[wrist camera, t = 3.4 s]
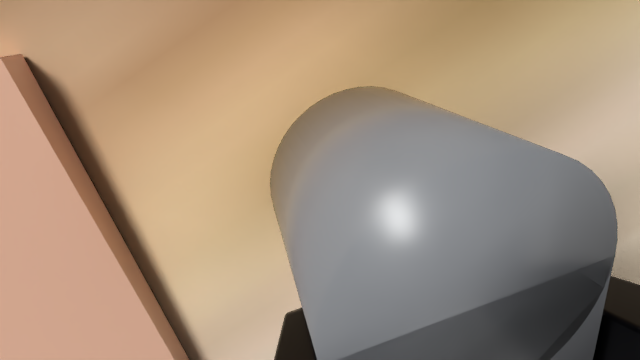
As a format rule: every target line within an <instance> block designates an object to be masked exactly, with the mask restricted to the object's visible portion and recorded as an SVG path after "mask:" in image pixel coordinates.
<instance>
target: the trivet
mask: <svg viewBox="0 0 640 360" xmlns="http://www.w3.org/2000/svg"><path fill="white" fill-rule="evenodd" d="M0 360H189V358H188V357H187V355H186V353H185V351H184V349H183V348H182V346H181V344H180V342H179V340H178V338H177V337H176V335H175V333H174V331H173V329H172V327H171V326H170V324H169V322H168V320H167V318H166V317H165V315H164V313H163V311H162V309H161V307H160V306H159V304H158V302H157V300H156V298H155V296H154V295H153V293H152V291H151V289H150V287H149V286H148V284H147V282H146V280H145V278H144V276H143V275H142V273H141V271H140V269H139V267H138V265H137V264H136V262H135V260H134V258H133V256H132V254H131V253H130V251H129V249H128V247H127V245H126V244H125V242H124V240H123V238H122V236H121V234H120V233H119V231H118V229H117V227H116V225H115V223H114V222H113V220H112V218H111V216H110V214H109V213H108V211H107V209H106V207H105V205H104V203H103V202H102V200H101V198H100V196H99V194H98V192H97V191H96V189H95V187H94V185H93V183H92V182H91V180H90V178H89V176H88V174H87V172H86V171H85V169H84V167H83V165H82V163H81V161H80V160H79V158H78V156H77V154H76V152H75V150H74V149H73V147H72V145H71V143H70V141H69V140H68V138H67V136H66V134H65V132H64V130H63V129H62V127H61V125H60V123H59V121H58V119H57V118H56V116H55V114H54V112H53V110H52V109H51V107H50V105H49V103H48V101H47V99H46V98H45V96H44V94H43V92H42V90H41V88H40V87H39V85H38V83H37V81H36V79H35V78H34V76H33V74H32V72H31V70H30V68H29V67H28V65H27V63H26V61H25V59H24V57H23V56H22V54H19V55H13V56H6V57H0Z"/></svg>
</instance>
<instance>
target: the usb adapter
mask: <svg viewBox="0 0 640 360" xmlns="http://www.w3.org/2000/svg"><path fill="white" fill-rule="evenodd" d="M270 189H271V198H272V202H273V207H274V210H275V214H276V217H277V221H278V224H279V228H280V231H281V235H282V238H283V242H284V245H285V249H286V252H287V256H288V259H289V263H290V266H291V270H292V273H293V277H294V280H295V284H296V287H297V291H298V294H299V298H300V301H301V305H302V308H303V312H304V315H305V319H306V322H307V326H308V329H309V333H310V336H311V340H312V343H313V347H314V350H315V354H316V357H317V360H593V356H594V352H595V347H596V342H597V337H598V333H599V328H600V323H601V319H602V314H603V309H604V304H605V300H606V295H607V290H608V286H609V281H610V276H611V271H612V267H613V262H614V257H615V251H616V244H617V219H616V213H615V208H614V205H613V202H612V199H611V196H610V194H609V192H608V191H607V189H606V187H605V186H604V184H603V182H602V181H601V180H600V179H599V178H598V177H597V176H596V175H595V173H594V172H593V171H592V170H590V169H589V168H587V167H586V166H585V165H583V164H582V163H580V162H579V161H577V160H574V159H572V158H570V157H567V156H565V155H563V154H560V153H558V152H555V151H552V150H550V149H547V148H544V147H542V146H539V145H536V144H534V143H531V142H529V141H526V140H523V139H521V138H518V137H515V136H513V135H510V134H508V133H505V132H502V131H500V130H497V129H494V128H492V127H489V126H487V125H484V124H481V123H479V122H476V121H473V120H471V119H468V118H466V117H463V116H460V115H458V114H455V113H452V112H450V111H447V110H445V109H442V108H439V107H437V106H434V105H431V104H429V103H426V102H424V101H421V100H418V99H416V98H413V97H410V96H408V95H405V94H403V93H400V92H397V91H395V90H391V89H387V88H382V87H357V88H352V89H346V90H343V91H340V92H337V93H334V94H332V95H330V96H328V97H326V98H324V99H322V100H320V101H319V102H317V103H316V104H314V105H313V106H311V107H310V108H309V109H308V110H306V111H305V112H304V113H303V114H302V115H301V116H300V117H299V118H298V119H297V120H296V121H295V122H294V123H293V124H292V125H291V127H290V128H289V130H288V131H287V133H286V134H285V135H284V137H283V139H282V141H281V143H280V145H279V147H278V149H277V152H276V154H275V157H274V160H273V165H272V169H271V178H270Z"/></svg>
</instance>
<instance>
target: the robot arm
mask: <svg viewBox="0 0 640 360" xmlns="http://www.w3.org/2000/svg"><path fill="white" fill-rule="evenodd" d="M274 360H317V357H316V354H315V350H314V347H313V343H312V340H311V336H310V333H309V329H308V326H307V322H306V319H305V315H304V312H303V308H299V309H296V310H294V311H291V312H288V313H287V314H286V315H285V318H284V322H283V326H282V330H281V334H280V338H279V342H278V346H277V350H276V354H275V358H274ZM593 360H640V285H638V284H635V283H632V282H629V281H626V280H622V279H619V278H616V277H613V276H610V281H609V286H608V290H607V295H606V300H605V304H604V309H603V314H602V319H601V323H600V328H599V333H598V337H597V342H596V347H595V352H594V356H593Z"/></svg>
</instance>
